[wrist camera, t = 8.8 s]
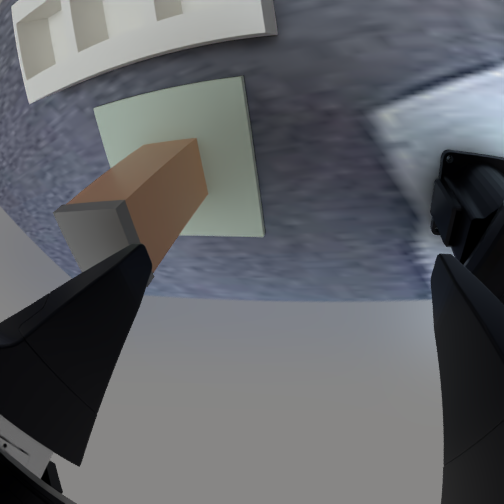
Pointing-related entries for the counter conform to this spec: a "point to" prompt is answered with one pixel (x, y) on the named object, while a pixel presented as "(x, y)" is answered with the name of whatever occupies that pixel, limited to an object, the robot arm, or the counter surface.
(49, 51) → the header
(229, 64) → the counter surface
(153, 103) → the mat
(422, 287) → the counter surface
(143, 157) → the tan rectangular block
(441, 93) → the counter surface
